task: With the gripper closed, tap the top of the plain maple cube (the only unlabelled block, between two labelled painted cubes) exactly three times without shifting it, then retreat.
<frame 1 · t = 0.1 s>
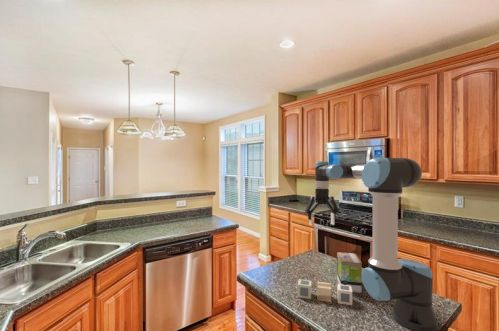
hand: (321, 225, 146), 28 cm above the countertop, fingers open, 13 cm apart
labelled block b: (304, 295, 120), on the countertop
tea box: (348, 285, 131), on the countertop
plain block: (324, 298, 118), on the countertop
labelled block a: (344, 301, 115), on the countertop
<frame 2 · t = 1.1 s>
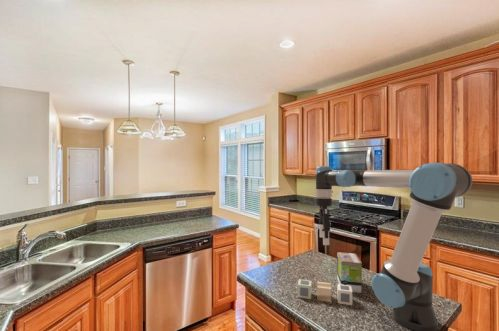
hand: (324, 241, 124), 25 cm above the countertop, fingers open, 13 cm apart
nothing on the countertop moved.
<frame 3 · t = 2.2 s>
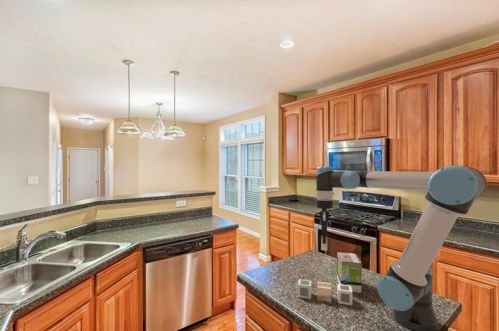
hand: (324, 249, 118), 22 cm above the countertop, fingers closed
nothing on the countertop moved.
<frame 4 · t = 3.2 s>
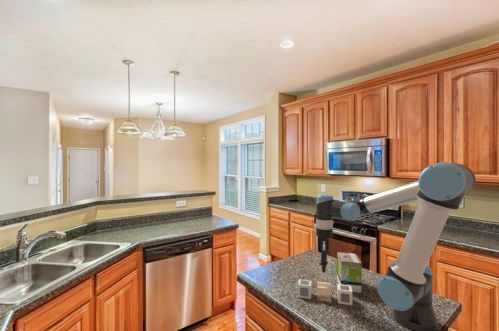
hand: (323, 278, 118), 9 cm above the countertop, fingers closed
nothing on the countertop moved.
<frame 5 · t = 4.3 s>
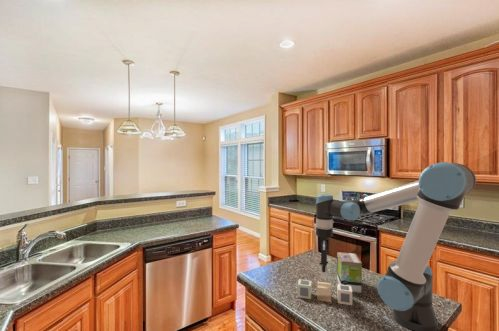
hand: (323, 277, 118), 9 cm above the countertop, fingers closed
nothing on the countertop moved.
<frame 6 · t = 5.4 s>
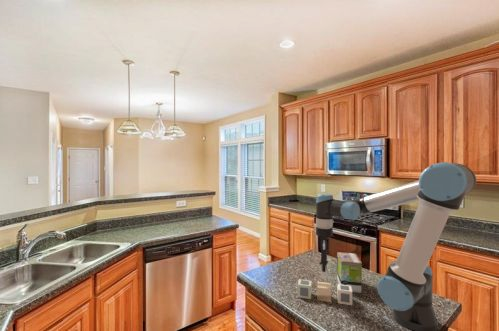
hand: (323, 277, 118), 9 cm above the countertop, fingers closed
nothing on the countertop moved.
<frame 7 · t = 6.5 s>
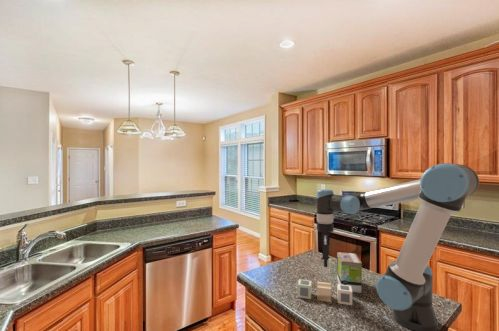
hand: (325, 272, 118), 11 cm above the countertop, fingers closed
nothing on the countertop moved.
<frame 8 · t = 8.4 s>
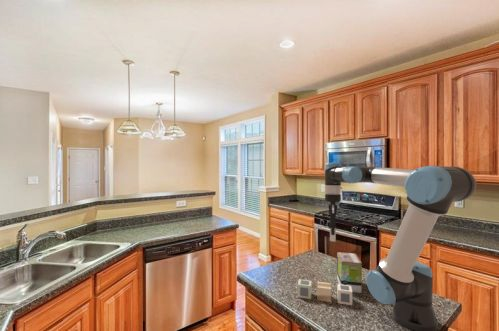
hand: (332, 240, 126), 24 cm above the countertop, fingers closed
nothing on the countertop moved.
at the end: plain block moved 0.1 cm from its start; plain block tilted 0°; plain block touching countertop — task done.
